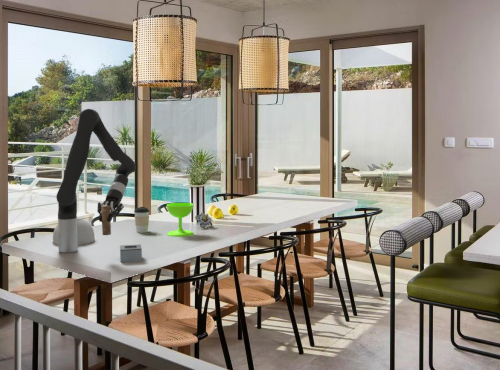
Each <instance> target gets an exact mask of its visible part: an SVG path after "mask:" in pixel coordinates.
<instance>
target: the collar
mask: <svg viewBox="0 0 500 370" xmlns="http://www.w3.org/2000/svg"><path fill="white" fill-rule="evenodd" d="M119 253H120V254H119V257H120V260H119V261H120V262H121V263H129V262H142V261H143V254H142V253H143V250H142V245H141V244H123V245H121V244H120V245H119Z"/></svg>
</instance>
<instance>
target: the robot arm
mask: <svg viewBox="0 0 500 370" xmlns="http://www.w3.org/2000/svg"><path fill="white" fill-rule="evenodd" d="M93 133H94V135H95V136H96V137H97V139H98V141H99V142H100V144H101V146H102V147H103V149H104V151H105V152H106V154H107V155H108V156H109V158H110V159H111V160H112V161H113V162H119V163H120V164H119V165H117V168H116V171H115V176H114V179H113V180H112V184H110V186H109V189H108V191H107V194H106V196H105V200H103V202H97V213H98V215H99V216H98V221H99V222H100V223H102V207H101V206H106V205H108V206H110V214H109V216H108V218H107V221H108V222H110V221H112V220H113V218H114V216H118V215H119V214H120V213H121V212H122V210H123V209H124V207H125V206H124V205H123V202H122V199H123V198H124V195H125V192H126V188H127V186H128V184H129V178H128V177H129V175H132V173H134V172H135V171H136V170H137V165H136V162H135V161H134V159H133V158H132V157H130V156H129V155H128V154H126V153H125V152H124V151H123V149H122V148H121V147H120V146H119V143H117V141H116V140H115V139H114V137H113V136H112V135H111V134H110V132H109V131H108V130H107V128H106V126H105V124H104V122H103V121H102V118H101V116H100V114H99V112H97V111H96V110H95V109H93V108H86V109H84V110H82V111H81V112H80V114H79V117H78V124H77V128H76V133H75V136H74V138H73V141H72V144H71V147H70V150H69V153H68V156H67V160H66V163H65V169H64V174H63V178H62V181H61V184H60V186H59V189H58V191H57V193H56V201H57V203H58V211H57V225H58V232H59V234H58V245H57V246H58V253H64V254H65V253H74V252H77V251H79V250H78V248H79V245H78V243H77V217H78V215H77V214H78V201H77V200H78V196H77V188H78V183H79V180H80V178H81V176H82V174H83V172H84V169H85V166H86V165H87V161H88V158H89V153H90V148H91V147H90V146H91V138H92V134H93Z"/></svg>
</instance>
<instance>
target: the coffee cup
mask: <svg viewBox="0 0 500 370" xmlns="http://www.w3.org/2000/svg"><path fill="white" fill-rule="evenodd" d="M133 213H134V222H135V231H136V233H139V234H145V233H148V232H149V221H150V210H149V209H148V207H145V206H140V207H136V208H135V209H134V212H133Z"/></svg>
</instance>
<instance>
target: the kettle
mask: <svg viewBox="0 0 500 370" xmlns="http://www.w3.org/2000/svg"><path fill="white" fill-rule="evenodd" d="M94 231H95V230H94V228H93V226H92V224H90V222H89V221H88V220H86V219H84V218H82V217H81V216H77V243H78V246H79V245H86V244H91V243H93V242H95V240H96V239H95V232H94ZM58 234H59V232H58V224H57V225H56V226H55V228H54V229H53V234H52V244H54V245H57V244H58Z"/></svg>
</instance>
